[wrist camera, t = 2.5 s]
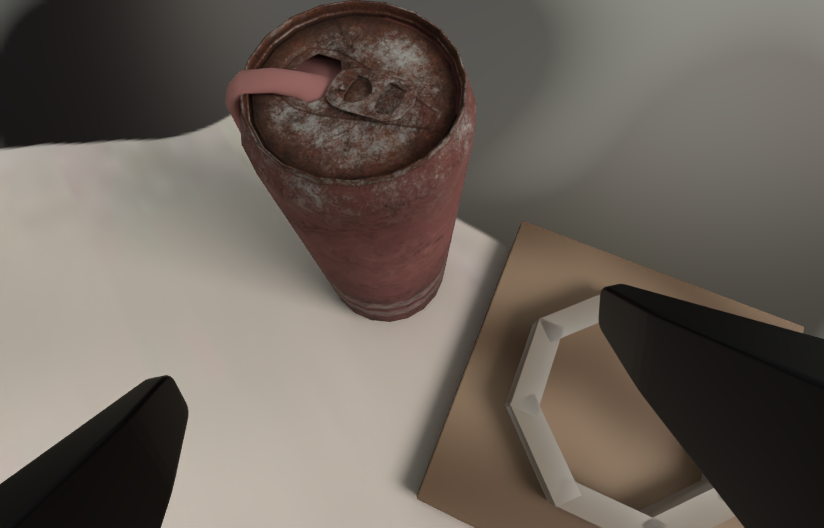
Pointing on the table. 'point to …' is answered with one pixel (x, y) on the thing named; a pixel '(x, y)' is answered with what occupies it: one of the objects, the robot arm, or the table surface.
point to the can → (362, 146)
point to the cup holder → (566, 406)
